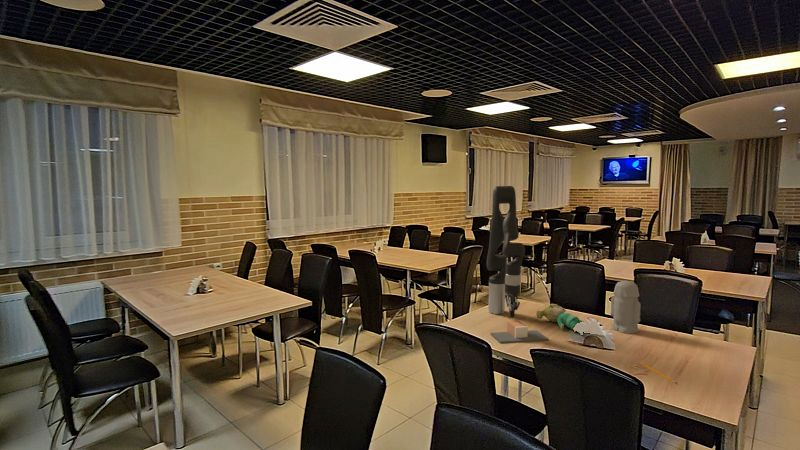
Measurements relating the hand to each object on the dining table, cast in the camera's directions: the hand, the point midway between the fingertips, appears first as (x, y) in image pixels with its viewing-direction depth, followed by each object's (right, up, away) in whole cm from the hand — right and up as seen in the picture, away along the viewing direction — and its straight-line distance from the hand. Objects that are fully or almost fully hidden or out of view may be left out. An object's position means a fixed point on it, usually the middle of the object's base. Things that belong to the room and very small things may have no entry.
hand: (511, 317), depth 212 cm
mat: (+1, -8, -8) cm, 12 cm away
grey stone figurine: (+57, -7, +2) cm, 58 cm away
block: (0, -4, -1) cm, 4 cm away
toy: (+30, -7, +8) cm, 31 cm away
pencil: (+44, -12, -47) cm, 65 cm away
